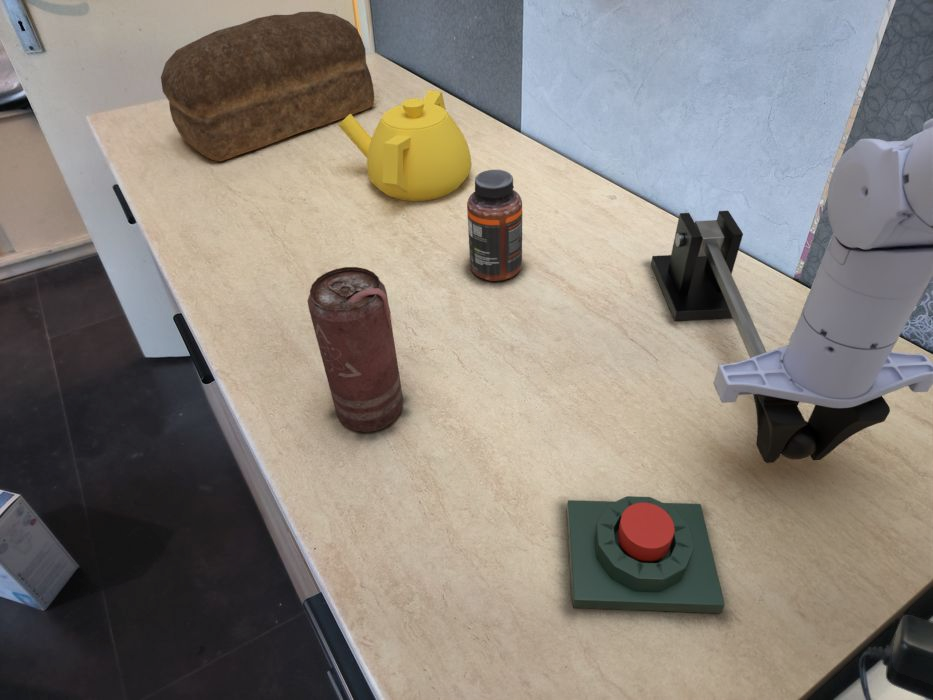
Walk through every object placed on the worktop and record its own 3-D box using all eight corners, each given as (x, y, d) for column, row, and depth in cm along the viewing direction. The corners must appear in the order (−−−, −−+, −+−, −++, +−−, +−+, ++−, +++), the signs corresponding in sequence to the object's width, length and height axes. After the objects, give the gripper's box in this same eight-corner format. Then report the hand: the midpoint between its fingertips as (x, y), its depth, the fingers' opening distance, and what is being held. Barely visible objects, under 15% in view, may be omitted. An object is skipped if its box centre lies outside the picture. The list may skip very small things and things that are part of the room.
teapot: (372, 141, 100) (362, 68, 93) (488, 151, 96) (486, 75, 89) (317, 207, 86) (299, 127, 79) (449, 222, 82) (443, 139, 75)
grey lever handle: (816, 466, 50) (832, 444, 48) (774, 468, 50) (788, 446, 48) (714, 240, 68) (722, 216, 66) (684, 242, 68) (691, 217, 66)
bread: (171, 139, 104) (132, 34, 93) (340, 84, 118) (323, -13, 108) (209, 170, 95) (171, 58, 85) (386, 106, 110) (373, 4, 99)
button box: (697, 512, 50) (705, 489, 48) (721, 613, 44) (731, 592, 42) (566, 508, 51) (569, 485, 49) (572, 608, 45) (575, 587, 43)
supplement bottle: (524, 255, 76) (527, 165, 69) (518, 285, 72) (519, 194, 64) (474, 251, 77) (471, 162, 70) (465, 281, 73) (460, 190, 65)
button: (665, 516, 47) (669, 502, 46) (674, 562, 44) (679, 549, 43) (615, 515, 47) (617, 501, 46) (620, 560, 45) (623, 547, 43)
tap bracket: (742, 317, 67) (764, 249, 61) (674, 321, 67) (690, 253, 61) (712, 261, 74) (729, 195, 68) (650, 264, 74) (662, 199, 68)
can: (402, 435, 57) (382, 311, 47) (330, 434, 57) (296, 311, 48) (410, 385, 61) (393, 262, 52) (344, 384, 62) (314, 263, 52)
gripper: (928, 276, 45) (856, 408, 54) (718, 288, 45) (682, 418, 54) (992, 345, 40) (900, 478, 49) (755, 358, 40) (708, 488, 49)
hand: (788, 451), depth 51 cm, fingers closed on grey lever handle, 3 cm apart
